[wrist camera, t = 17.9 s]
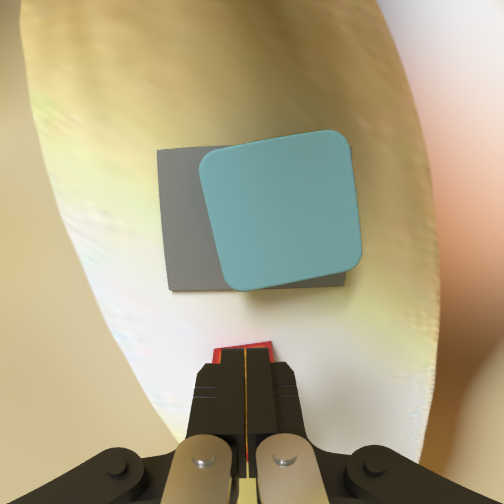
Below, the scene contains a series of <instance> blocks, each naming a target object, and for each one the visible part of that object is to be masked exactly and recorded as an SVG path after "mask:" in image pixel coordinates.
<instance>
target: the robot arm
mask: <svg viewBox="0 0 504 504" xmlns="http://www.w3.org/2000/svg"><path fill="white" fill-rule="evenodd" d="M246 403H247V448H248V468H249V478H256V497H257V504H502V503H500V502H497V501H495V500H492V499H490V498H488V497H485V496H483V495H481V494H478V493H476V492H474V491H472V490H470V489H467V488H465V487H463V486H461V485H459V484H457V483H455V482H452V481H450V480H448V479H446V478H444V477H442V476H440V475H438V474H436V473H434V472H432V471H430V470H428V469H426V468H424V467H423V466H420V465H419V464H417V463H415V462H413V461H411V460H410V459H408V458H406V457H404V456H402V455H400V454H399V453H397V452H395V451H393V450H391V449H389V448H387V447H384V446H380V445H369V446H364V447H362V448H360V449H358V450H356V451H355V452H354V453H353V454H352V455H345V454H337V453H330V452H326V451H323V450H321V449H319V448H317V447H316V446H314V445H313V444H312V443H311V442H310V441H309V439H308V438H307V436H306V432H305V427H304V422H303V417H302V411H301V406H300V401H299V396H298V390H297V386H296V380H295V375H294V371H293V370H292V369H291V368H290V367H289V366H288V364H287V363H286V362H270V356H269V348H268V347H259V348H246V379H245V353H244V348H222V350H221V359H220V364H217V363H206V364H205V365H204V366H203V367H202V369H201V370H200V371H199V372H198V374H197V378H196V384H195V389H194V395H193V400H192V406H191V412H190V417H189V423H188V429H187V434H186V438H185V440H184V441H182V442H181V443H180V444H179V445H178V447H177V449H176V450H174V451H173V452H170V453H168V454H165V455H160V456H154V457H147V458H140V457H139V456H138V455H137V454H136V453H135V452H133V451H131V450H129V449H126V448H120V447H118V448H109V449H106V450H104V451H102V452H101V453H99V454H97V455H96V456H94V457H92V458H91V459H89V460H87V461H85V462H84V463H82V464H80V465H79V466H77V467H75V468H74V469H72V470H70V471H68V472H67V473H65V474H63V475H61V476H59V477H58V478H56V479H54V480H52V481H50V482H48V483H47V484H45V485H43V486H41V487H39V488H38V489H35V490H33V491H32V492H30V493H28V494H26V495H24V496H22V497H20V498H18V499H16V500H14V501H12V502H10V503H7V504H238V497H239V478H247V458H246Z"/></svg>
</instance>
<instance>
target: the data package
mask: <svg viewBox="0 0 504 504" xmlns="http://www.w3.org/2000/svg"><path fill="white" fill-rule="evenodd" d="M199 176H200V181H201V185H202V189H203V194H204V198H205V202H206V207H207V211H208V215H209V219H210V223H211V228H212V232H213V236H214V240H215V244H216V248H217V252H218V256H219V260H220V264H221V268H222V272H223V276H224V279H225V281H226V283H227V284H228V285H229V286H230V287H231V288H233V289H235V290H237V291H251V290H256V289H262V288H267V287H272V286H277V285H282V284H287V283H292V282H297V281H302V280H307V279H312V278H317V277H322V276H327V275H331V274H336V273H341V272H345V271H349V270H351V269H352V268H354V267H355V266H356V265H357V264H358V262H359V261H360V259H361V256H362V244H361V233H360V223H359V213H358V205H357V196H356V189H355V181H354V174H353V167H352V160H351V154H350V148H349V144H348V142H347V140H346V139H345V138H344V136H343V135H341V134H340V133H338V132H336V131H333V130H322V131H315V132H308V133H301V134H295V135H289V136H283V137H277V138H271V139H266V140H260V141H255V142H250V143H245V144H240V145H235V146H230V147H226V148H221V149H216V150H213V151H211V152H209V153H208V154H206V155H205V156H204V158H203V159H202V161H201V163H200V166H199Z"/></svg>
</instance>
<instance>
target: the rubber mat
mask: <svg viewBox="0 0 504 504" xmlns="http://www.w3.org/2000/svg"><path fill="white" fill-rule="evenodd" d="M232 146H235V145H232ZM226 147H230V146H207V147H190V148H176V149H163V150H157V165H158V182H159V197H160V210H161V222H162V233H163V243H164V252H165V261H166V270H167V278H168V286H169V290H235V289H233V288H231V287H230V286H229V285H228V284H227V283H226V281H225V279H224V276H223V272H222V268H221V264H220V260H219V256H218V252H217V248H216V244H215V240H214V236H213V232H212V228H211V223H210V219H209V215H208V211H207V207H206V202H205V198H204V194H203V189H202V185H201V181H200V176H199V166H200V163H201V161H202V159H203V158H204V156H205V155H206V154H208V153H209V152H211V151H213V150H216V149H221V148H226ZM349 148H350V154H351V160H352V147H349ZM344 281H345V272H341V273H336V274H331V275H327V276H322V277H317V278H312V279H307V280H302V281H297V282H292V283H287V284H282V285H277V286H272V287H267V288H262V289H282V288H311V287H335V286H344Z"/></svg>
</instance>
